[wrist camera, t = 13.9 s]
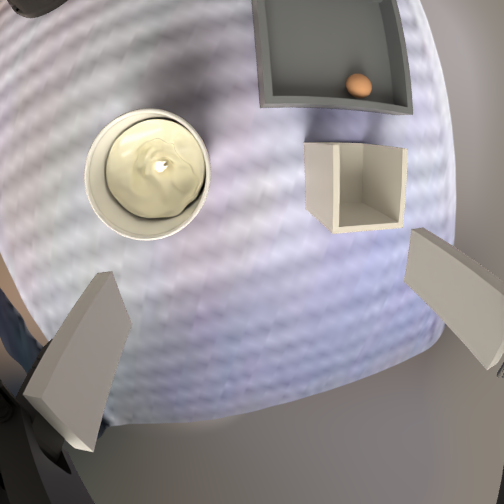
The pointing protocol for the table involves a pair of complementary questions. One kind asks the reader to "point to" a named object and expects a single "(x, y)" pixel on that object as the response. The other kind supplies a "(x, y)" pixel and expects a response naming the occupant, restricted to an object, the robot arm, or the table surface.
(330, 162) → the cream open-top bin
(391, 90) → the tray
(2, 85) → the table surface
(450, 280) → the robot arm
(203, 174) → the candle holder
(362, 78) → the ball
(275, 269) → the table surface
